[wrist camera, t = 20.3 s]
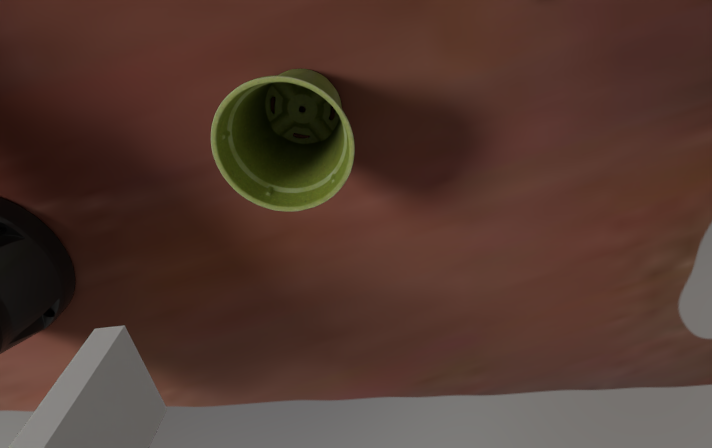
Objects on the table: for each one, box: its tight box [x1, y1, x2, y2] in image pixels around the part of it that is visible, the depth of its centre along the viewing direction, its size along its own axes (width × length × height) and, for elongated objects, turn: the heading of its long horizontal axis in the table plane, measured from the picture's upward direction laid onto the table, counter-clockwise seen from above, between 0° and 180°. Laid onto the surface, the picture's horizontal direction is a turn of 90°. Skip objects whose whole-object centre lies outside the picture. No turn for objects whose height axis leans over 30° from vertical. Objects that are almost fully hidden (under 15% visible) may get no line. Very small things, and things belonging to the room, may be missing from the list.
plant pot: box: [211, 69, 355, 211], centre depth 40 cm, size 9×9×9 cm
